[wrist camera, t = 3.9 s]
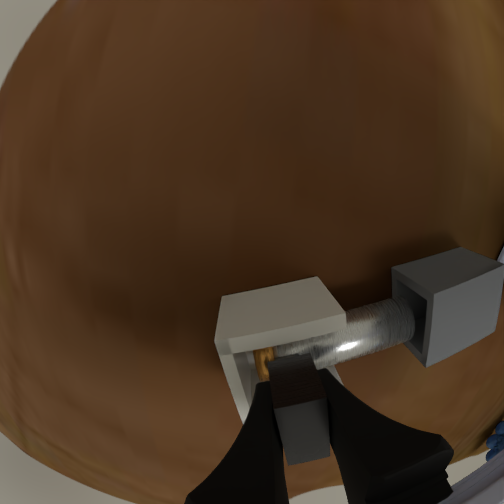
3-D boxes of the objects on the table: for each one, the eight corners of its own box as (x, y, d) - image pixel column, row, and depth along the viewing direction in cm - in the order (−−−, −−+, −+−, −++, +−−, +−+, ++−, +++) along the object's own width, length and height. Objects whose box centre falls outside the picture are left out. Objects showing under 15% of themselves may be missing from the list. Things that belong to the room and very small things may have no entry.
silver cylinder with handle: (392, 279, 15) (472, 339, 8) (391, 334, 16) (454, 405, 9) (247, 314, 16) (252, 412, 8) (261, 368, 16) (271, 468, 9)
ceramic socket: (317, 276, 16) (345, 312, 11) (326, 357, 18) (348, 406, 13) (221, 296, 16) (214, 340, 11) (243, 374, 18) (244, 428, 13)
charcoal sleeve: (460, 246, 16) (505, 264, 11) (457, 305, 17) (494, 330, 13) (391, 267, 16) (433, 294, 12) (391, 330, 17) (425, 367, 13)
